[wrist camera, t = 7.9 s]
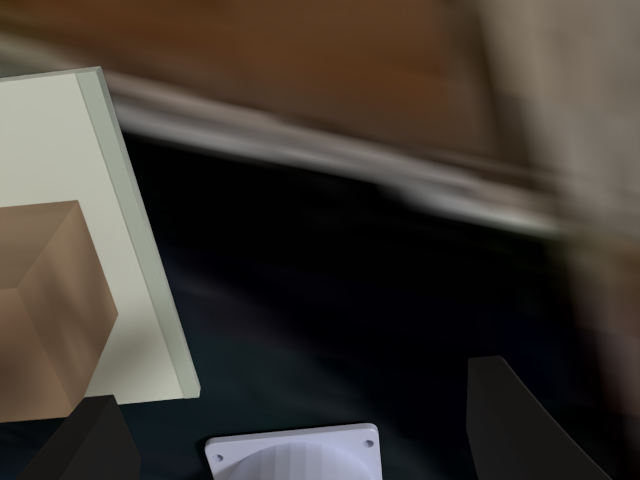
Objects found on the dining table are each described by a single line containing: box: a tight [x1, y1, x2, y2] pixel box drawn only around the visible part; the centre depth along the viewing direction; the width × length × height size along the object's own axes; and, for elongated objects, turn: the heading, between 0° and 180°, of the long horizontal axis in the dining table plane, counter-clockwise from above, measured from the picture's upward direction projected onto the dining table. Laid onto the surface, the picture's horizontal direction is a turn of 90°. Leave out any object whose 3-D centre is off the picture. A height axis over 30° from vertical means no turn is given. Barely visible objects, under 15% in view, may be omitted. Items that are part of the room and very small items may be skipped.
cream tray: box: [0, 66, 201, 404], centre depth 21 cm, size 14×9×1 cm, turn 7°
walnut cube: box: [0, 200, 118, 423], centre depth 19 cm, size 5×5×5 cm
